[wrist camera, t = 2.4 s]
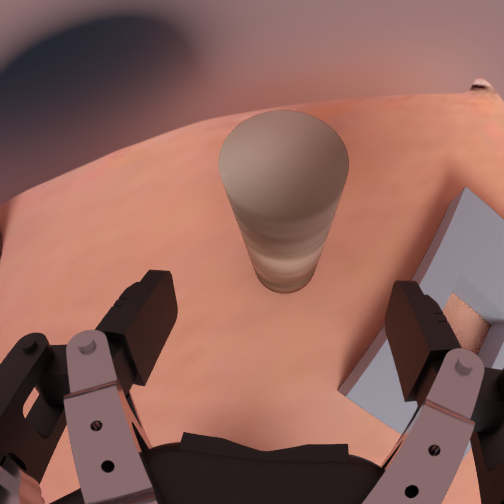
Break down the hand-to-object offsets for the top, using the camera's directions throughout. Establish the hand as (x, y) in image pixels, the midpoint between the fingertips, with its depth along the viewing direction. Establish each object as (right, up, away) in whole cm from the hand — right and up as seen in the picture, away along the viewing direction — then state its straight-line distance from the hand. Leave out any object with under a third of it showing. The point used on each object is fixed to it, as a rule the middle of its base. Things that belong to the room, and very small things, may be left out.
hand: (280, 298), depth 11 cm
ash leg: (+1, +1, +12) cm, 12 cm away
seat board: (+15, -4, +9) cm, 17 cm away
